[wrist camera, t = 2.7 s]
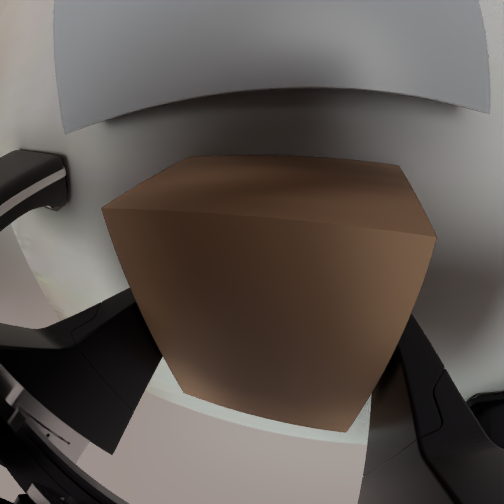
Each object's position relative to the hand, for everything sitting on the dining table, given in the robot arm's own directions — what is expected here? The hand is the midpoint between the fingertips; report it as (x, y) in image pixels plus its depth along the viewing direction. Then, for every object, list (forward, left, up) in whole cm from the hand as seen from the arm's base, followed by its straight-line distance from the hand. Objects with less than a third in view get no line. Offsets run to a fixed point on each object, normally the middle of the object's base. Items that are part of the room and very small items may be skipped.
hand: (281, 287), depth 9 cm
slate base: (+1, -12, -1) cm, 12 cm away
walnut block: (0, 0, -1) cm, 1 cm away
